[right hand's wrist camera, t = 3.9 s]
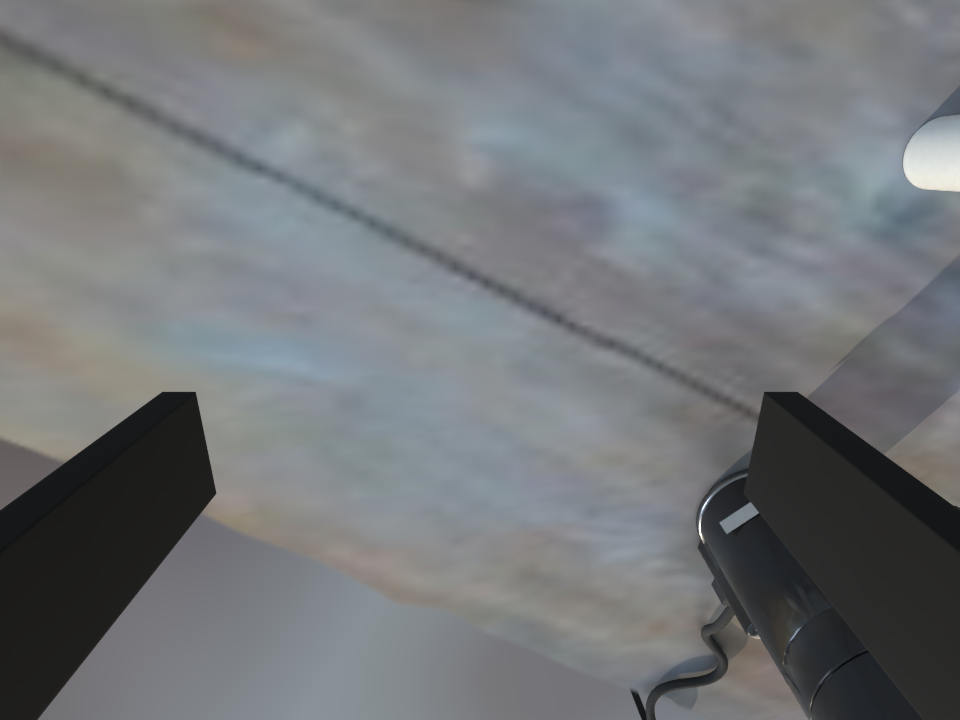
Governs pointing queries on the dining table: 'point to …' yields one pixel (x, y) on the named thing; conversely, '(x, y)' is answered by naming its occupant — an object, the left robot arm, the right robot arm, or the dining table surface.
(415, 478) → the dining table surface
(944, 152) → the bottle
